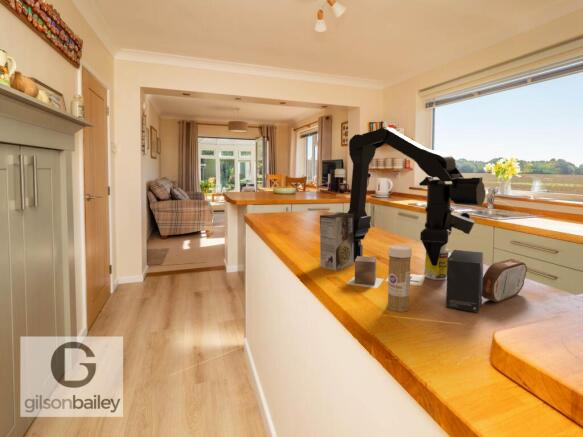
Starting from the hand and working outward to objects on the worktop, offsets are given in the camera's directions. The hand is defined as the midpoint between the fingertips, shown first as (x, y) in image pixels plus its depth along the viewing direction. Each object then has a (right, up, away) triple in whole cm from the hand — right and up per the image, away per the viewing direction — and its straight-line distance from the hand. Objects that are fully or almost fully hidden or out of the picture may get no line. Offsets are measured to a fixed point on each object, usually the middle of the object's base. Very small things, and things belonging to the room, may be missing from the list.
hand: (436, 261), depth 91 cm
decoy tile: (-19, -5, -2) cm, 20 cm away
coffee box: (-25, -3, +14) cm, 28 cm away
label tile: (-8, -5, 0) cm, 9 cm away
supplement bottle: (0, -5, +1) cm, 5 cm away
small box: (-1, -7, -17) cm, 18 cm away
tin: (+9, -7, -14) cm, 18 cm away
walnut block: (-19, -5, -2) cm, 20 cm away
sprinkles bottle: (-16, -8, -19) cm, 26 cm away
